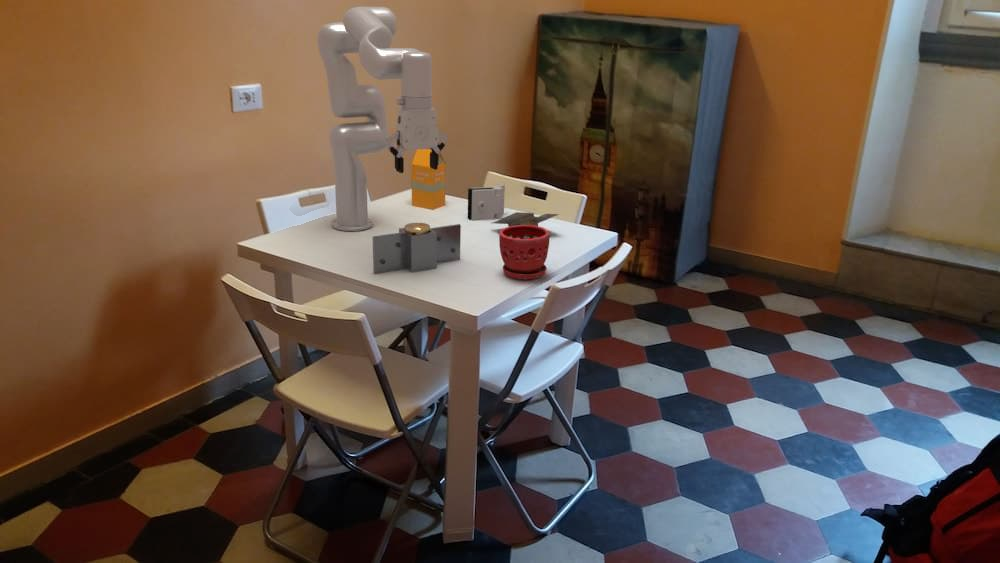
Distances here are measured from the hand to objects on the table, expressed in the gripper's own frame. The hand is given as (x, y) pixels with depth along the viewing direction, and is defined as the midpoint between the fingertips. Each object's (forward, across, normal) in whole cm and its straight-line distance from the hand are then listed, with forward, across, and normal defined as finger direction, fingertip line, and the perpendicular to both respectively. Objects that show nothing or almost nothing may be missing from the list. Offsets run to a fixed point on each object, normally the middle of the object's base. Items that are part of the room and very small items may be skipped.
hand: (416, 170), depth 202 cm
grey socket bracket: (+26, 0, 0) cm, 26 cm away
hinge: (+27, +41, +32) cm, 58 cm away
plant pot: (+26, +22, -18) cm, 39 cm away
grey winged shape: (+27, +42, +12) cm, 51 cm away
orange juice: (+27, +30, +52) cm, 66 cm away
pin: (+26, 0, 0) cm, 26 cm away
